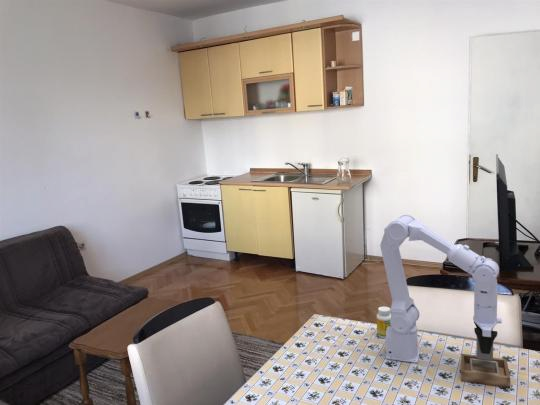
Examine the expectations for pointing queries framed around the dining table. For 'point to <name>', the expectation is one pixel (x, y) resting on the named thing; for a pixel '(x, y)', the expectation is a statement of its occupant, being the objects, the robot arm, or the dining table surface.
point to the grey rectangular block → (482, 355)
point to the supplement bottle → (383, 321)
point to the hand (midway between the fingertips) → (484, 349)
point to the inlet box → (485, 371)
